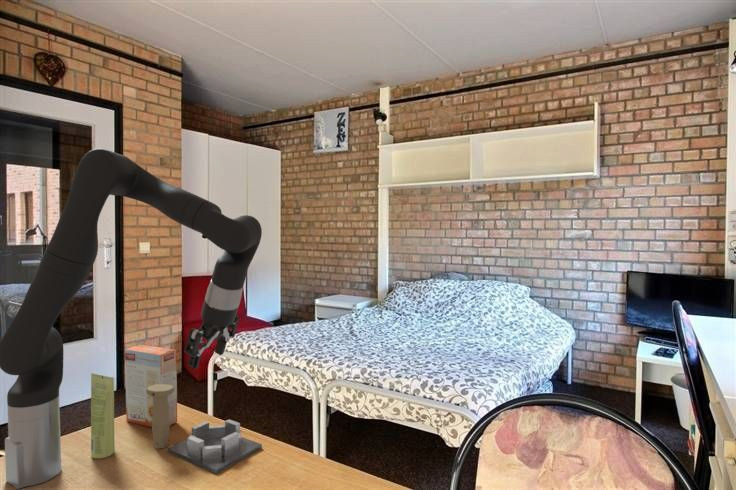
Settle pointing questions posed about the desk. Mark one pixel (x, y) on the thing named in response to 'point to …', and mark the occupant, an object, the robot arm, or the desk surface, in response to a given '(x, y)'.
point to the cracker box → (149, 381)
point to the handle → (160, 413)
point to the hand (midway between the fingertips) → (206, 359)
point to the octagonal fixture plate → (215, 446)
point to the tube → (102, 416)
